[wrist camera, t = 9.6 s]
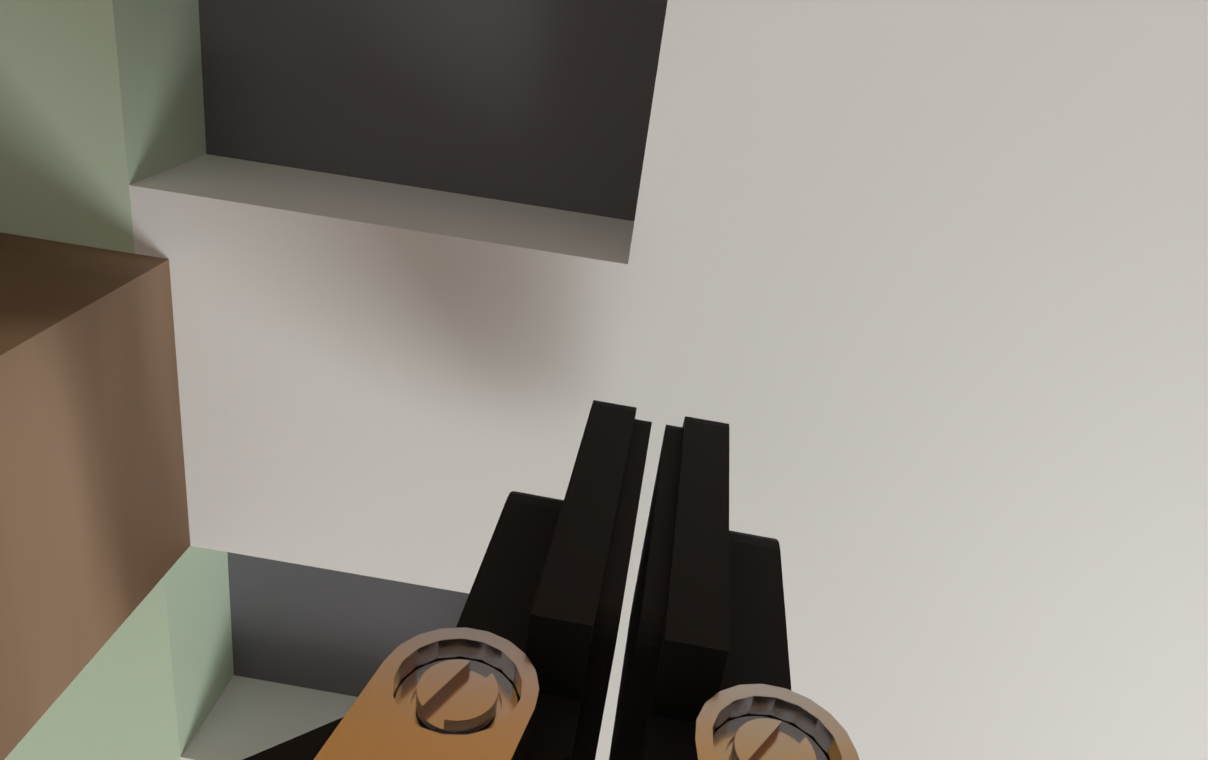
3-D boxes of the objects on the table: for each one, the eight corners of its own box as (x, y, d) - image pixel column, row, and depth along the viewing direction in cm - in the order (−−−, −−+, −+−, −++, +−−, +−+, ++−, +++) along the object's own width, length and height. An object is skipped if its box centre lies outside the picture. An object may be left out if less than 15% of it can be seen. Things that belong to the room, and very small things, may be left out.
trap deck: (1553, -104, 12) (2381, -159, 6) (1069, 846, 20) (1224, 1229, 14) (-231, -354, 13) (-1034, -616, 7) (-23, 652, 20) (-317, 935, 15)
